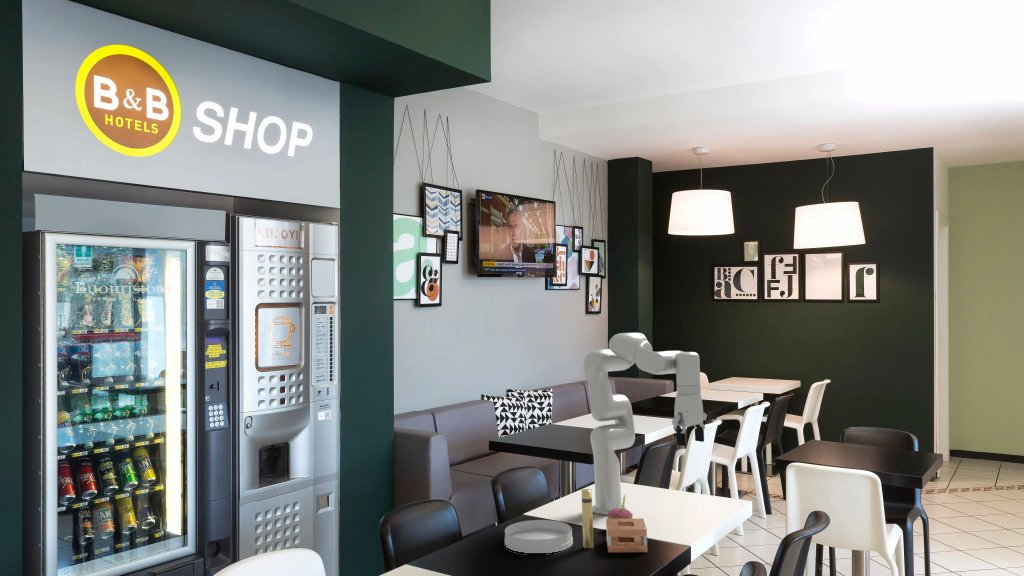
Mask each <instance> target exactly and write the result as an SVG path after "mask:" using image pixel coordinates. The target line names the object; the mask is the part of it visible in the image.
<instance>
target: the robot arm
mask: <svg viewBox="0 0 1024 576" xmlns="http://www.w3.org/2000/svg"><path fill="white" fill-rule="evenodd" d="M608 342H609V343H608V348H600V349H595V350H592V351H589V352H588V353H587V354H586V355H585V357H584V360H583V373H584V377H585V380H586V383H587V387H588V396H589V403H590V404H589V405H590V411H591V412H590V413H591V415H592V416H591V417H592V418H593V419H594V420H595V421H597V422H609V421H614V423H610V424H602V425H599V426H597V427H594V428H593V429H592V430H591V432H590V438H589V439H590V445H591V449H592V455H593V470H594V471H593V472H594V499H595V500H594V502H595V503H594V505H592V513H594V514H597V515H604V516H605V515H606V516H607V515H608V513H609V511H611V510H612V509H617V508H622V491H621V488H622V487H621V486H622V485H621V484H622V483H621V465H620V460H619V457H618V456H617V454H616V453H615V451H617V450H623V449H628V448H630V447H632V446H633V445H634V443H635V440H636V432H635V422H634V421H635V420H634V416H633V415H634V414H633V409H632V408H633V407H632V403H631V402H630V399H629V398H628V397H627V396H626V395H624V394H621V393H620V394H619V393H617V394H613V392H612V385H611V381H610V379H609V378H608V377H607V375H606V374H605V373H608V372H619V371H625V370H627V369H630V368H631V367H632V366H633V365H634V364H635V366H637V368H638V369H639V370H641V371H643V372H646V373H649V374H651V375H668V374H669V375H670V374H671V375H672V374H676V375H675V377H676V395H675V401H674V413H673V414H674V416H673V419H672V420H671V424H672V426H673V429H674V432H675V433H676V445H677V446H682V447H686V446H687V436H686V434H687V433H686V429H687V428H688V427H689V428H690V427H694V426H695V428H694V441H695V442H702V443H703V442H705V428H706V426H705V425H706V423H707V417H708V414H707V413H706V412H704V405H703V399H702V393H701V392H702V391H701V390H702V389H701V368H700V367H701V363H700V362H701V361H700V360H701V359H700V355H699V354H698V353H697V352H695V351H684V350H683V351H682V350H664V351H654V350H653V346H652V344H651V343H650V342H649V341H648V338H647V337H646V336H645V334H643V333H640V332H636V331H635V332H622V333H617V334H614V335H613V336H612V337H611V338H610V340H609V341H608ZM626 508H627V507H626V506H625V505H624V509H626ZM626 510H627V509H626Z"/></svg>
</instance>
